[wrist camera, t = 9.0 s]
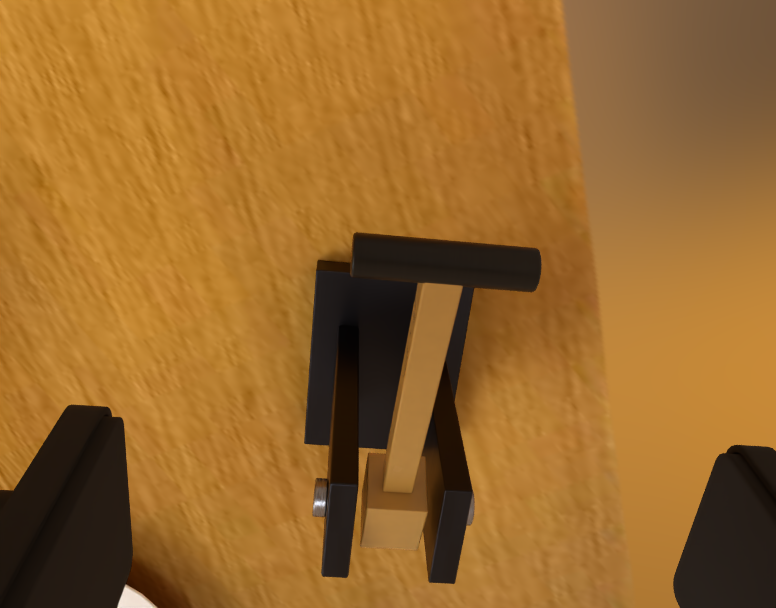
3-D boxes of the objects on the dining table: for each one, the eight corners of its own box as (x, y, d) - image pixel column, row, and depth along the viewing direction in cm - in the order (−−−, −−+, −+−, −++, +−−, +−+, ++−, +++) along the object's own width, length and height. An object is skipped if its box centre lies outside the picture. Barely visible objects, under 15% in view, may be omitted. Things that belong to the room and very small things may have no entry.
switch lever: (354, 209, 20) (351, 267, 18) (534, 225, 21) (548, 283, 19) (327, 490, 30) (323, 545, 28) (449, 497, 30) (453, 552, 28)
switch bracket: (317, 259, 36) (297, 413, 24) (471, 272, 36) (523, 428, 25) (305, 430, 40) (283, 629, 28) (443, 439, 40) (476, 638, 29)
